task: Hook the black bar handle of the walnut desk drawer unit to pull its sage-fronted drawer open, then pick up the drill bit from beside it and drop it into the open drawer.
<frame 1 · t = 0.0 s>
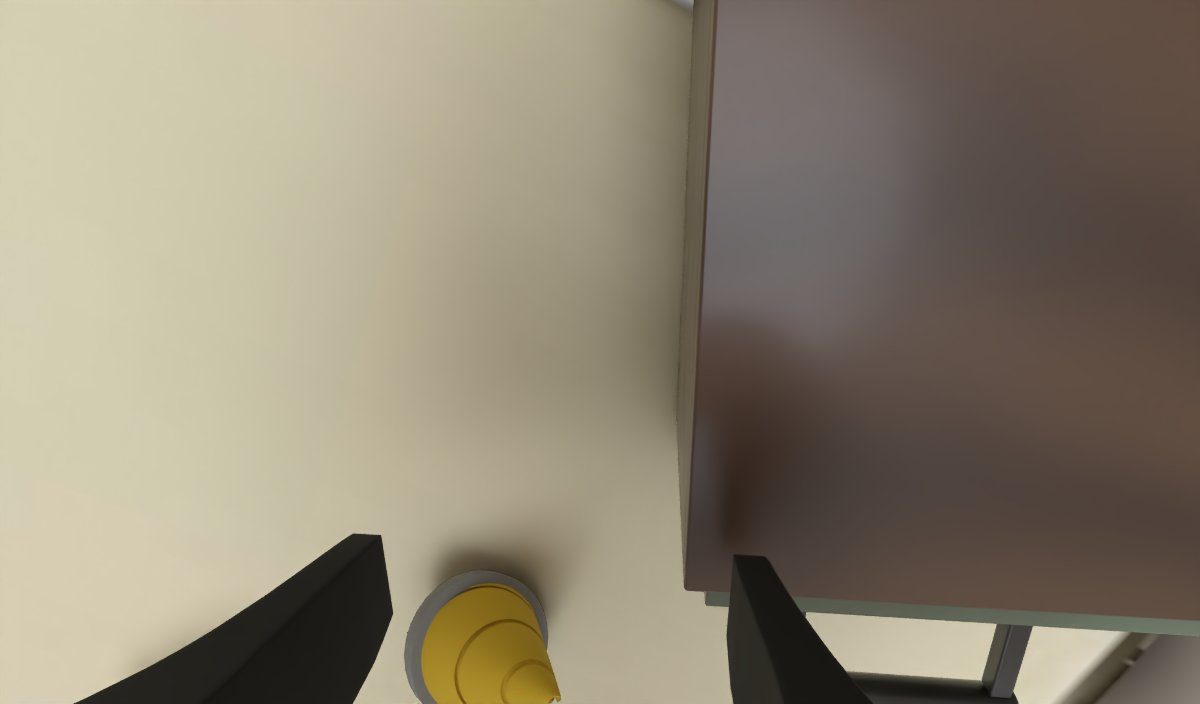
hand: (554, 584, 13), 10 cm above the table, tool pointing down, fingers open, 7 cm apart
cabinet: (895, 196, 19), on the table
drawer: (923, 394, 17), point 4 cm above the table, slide at 0.0 cm
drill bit: (504, 580, 26), on the table
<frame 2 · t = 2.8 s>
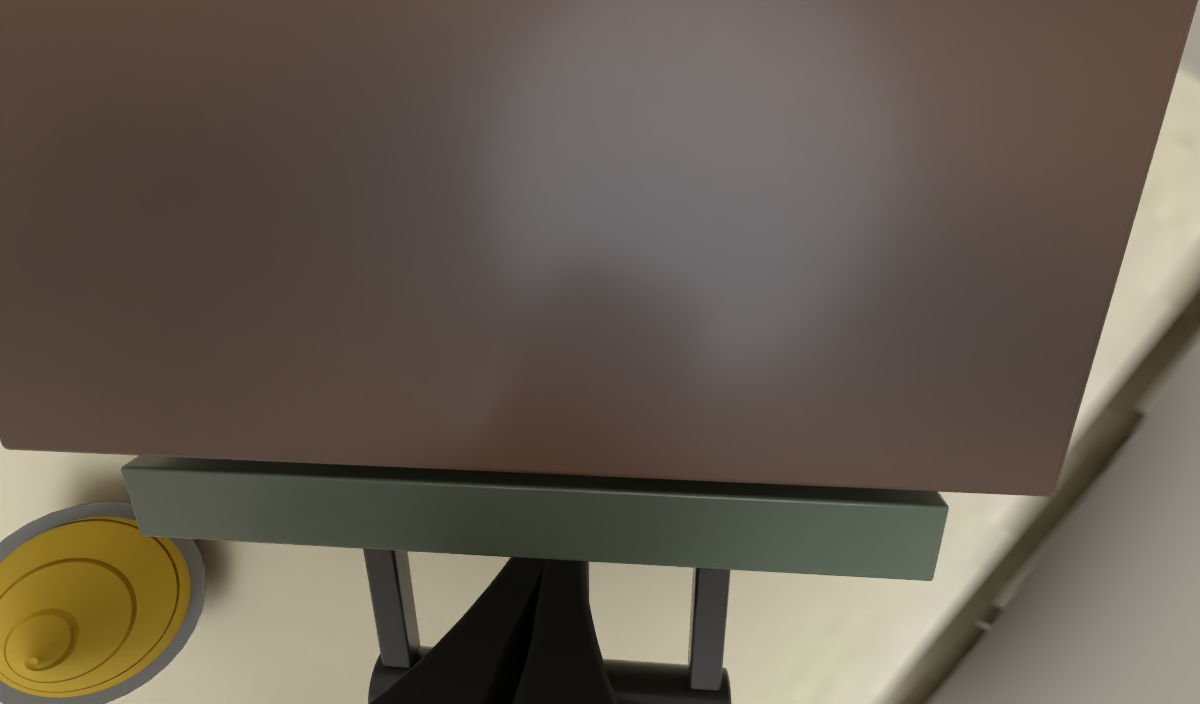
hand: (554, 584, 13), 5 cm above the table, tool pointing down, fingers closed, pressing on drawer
drawer: (545, 209, 11), point 4 cm above the table, slide at 0.7 cm, touching gripper
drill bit: (164, 519, 20), on the table
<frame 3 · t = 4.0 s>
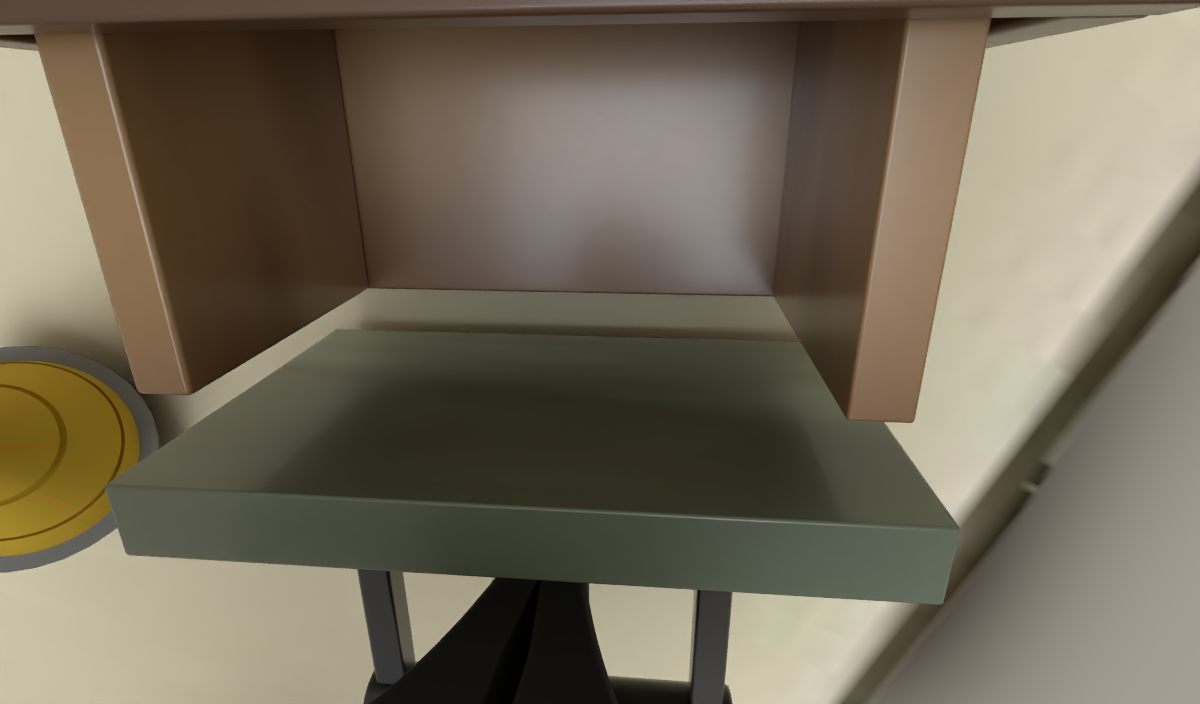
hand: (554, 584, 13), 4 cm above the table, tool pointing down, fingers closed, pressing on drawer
drawer: (542, 217, 10), point 4 cm above the table, slide at 5.6 cm, touching gripper
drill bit: (114, 381, 18), on the table
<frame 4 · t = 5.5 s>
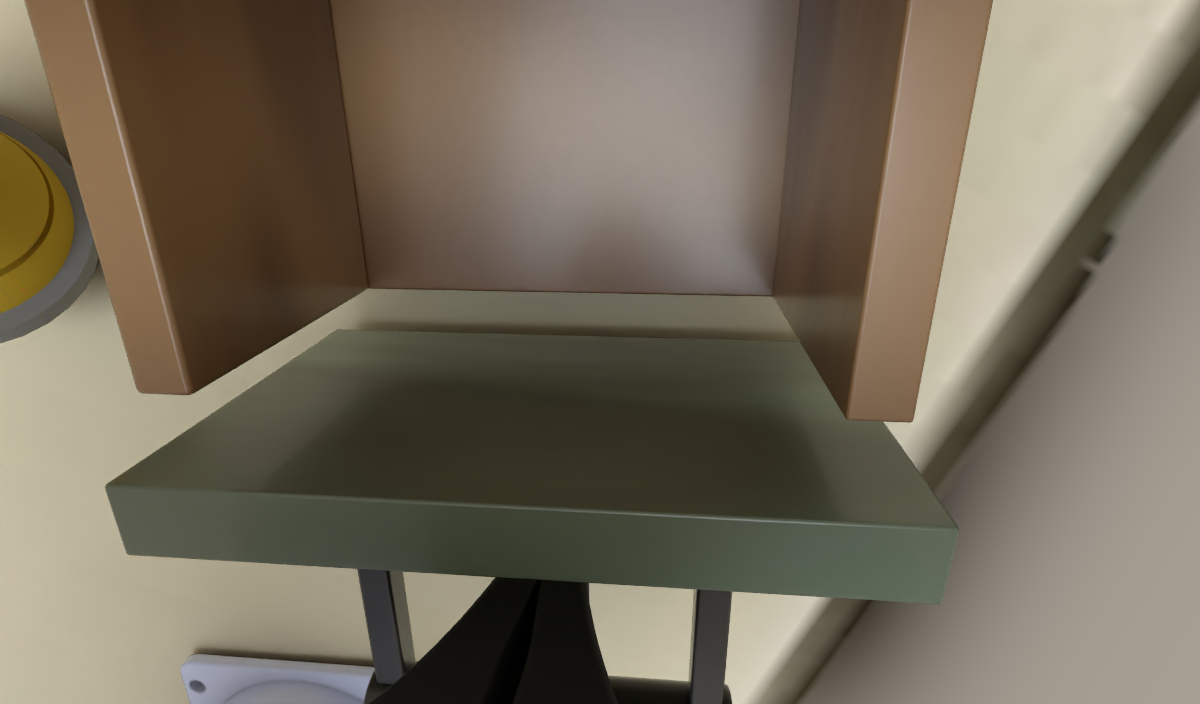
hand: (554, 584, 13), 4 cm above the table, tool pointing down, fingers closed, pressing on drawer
drawer: (542, 217, 10), point 4 cm above the table, slide at 11.3 cm, touching gripper
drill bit: (50, 169, 16), on the table
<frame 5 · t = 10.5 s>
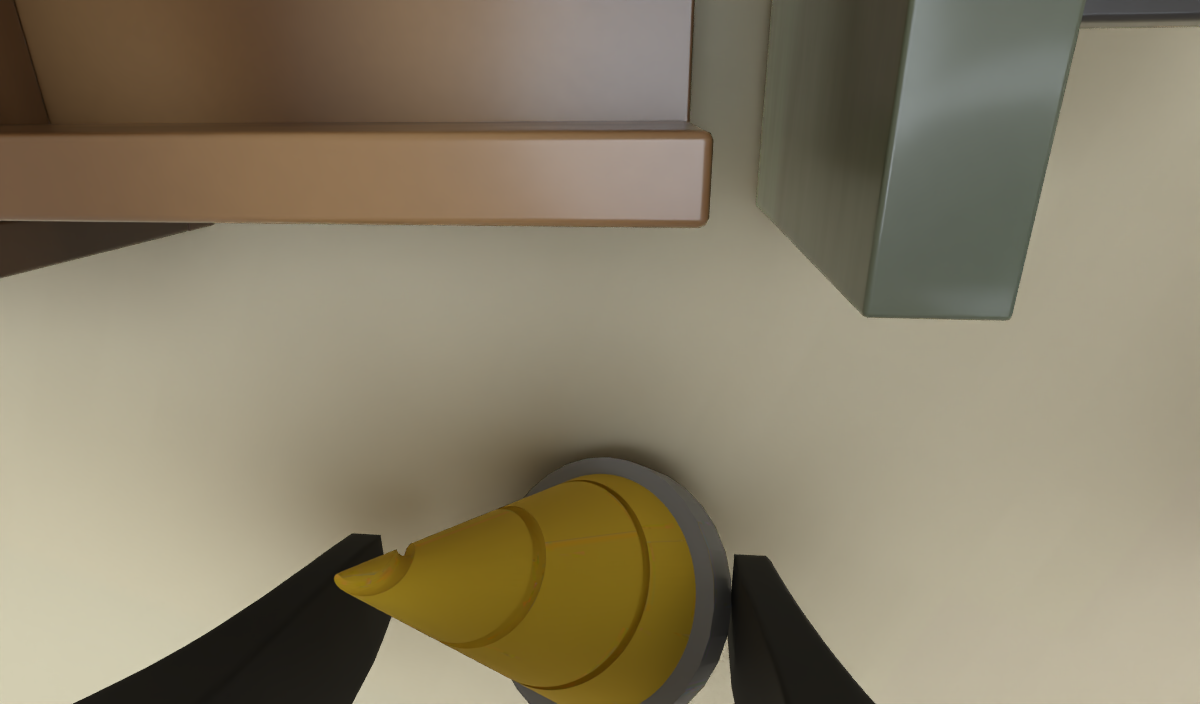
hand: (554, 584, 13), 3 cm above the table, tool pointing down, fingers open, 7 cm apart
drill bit: (573, 499, 16), on the table, touching gripper
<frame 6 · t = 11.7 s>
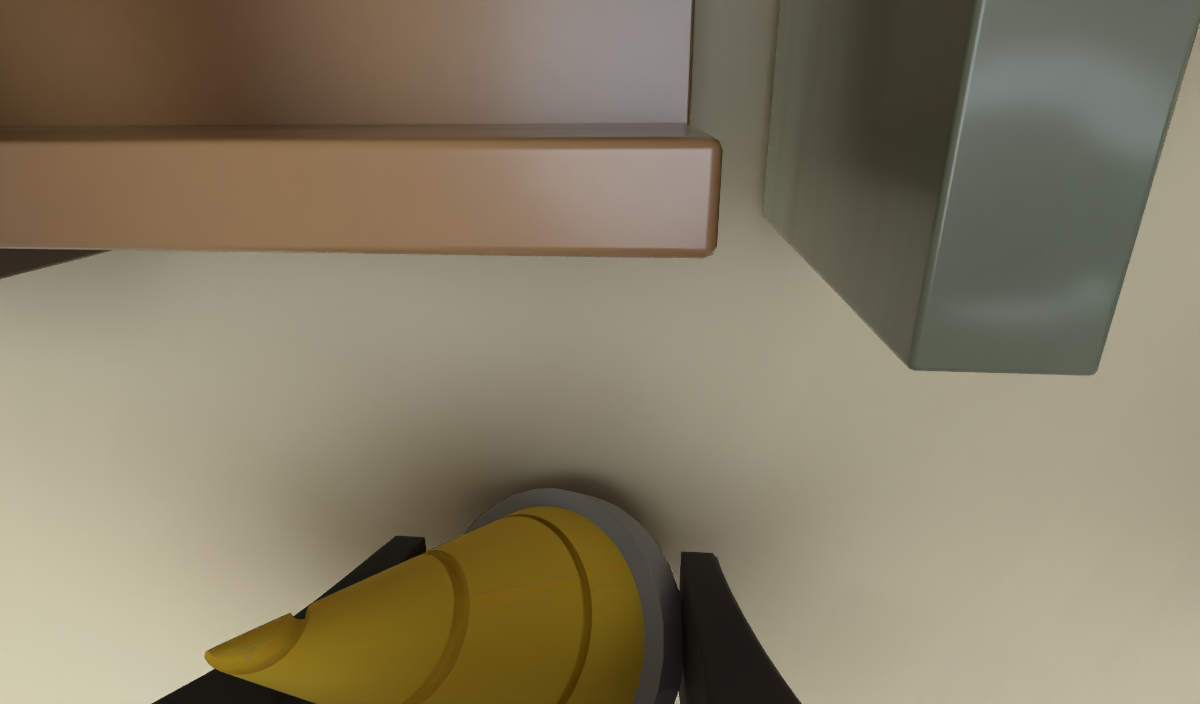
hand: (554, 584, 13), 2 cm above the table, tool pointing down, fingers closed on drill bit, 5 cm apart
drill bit: (523, 529, 15), on the table, touching gripper
when the fingers open (4 cm above the table, at t = 16.1 s): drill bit stays where it is, resting on drawer.
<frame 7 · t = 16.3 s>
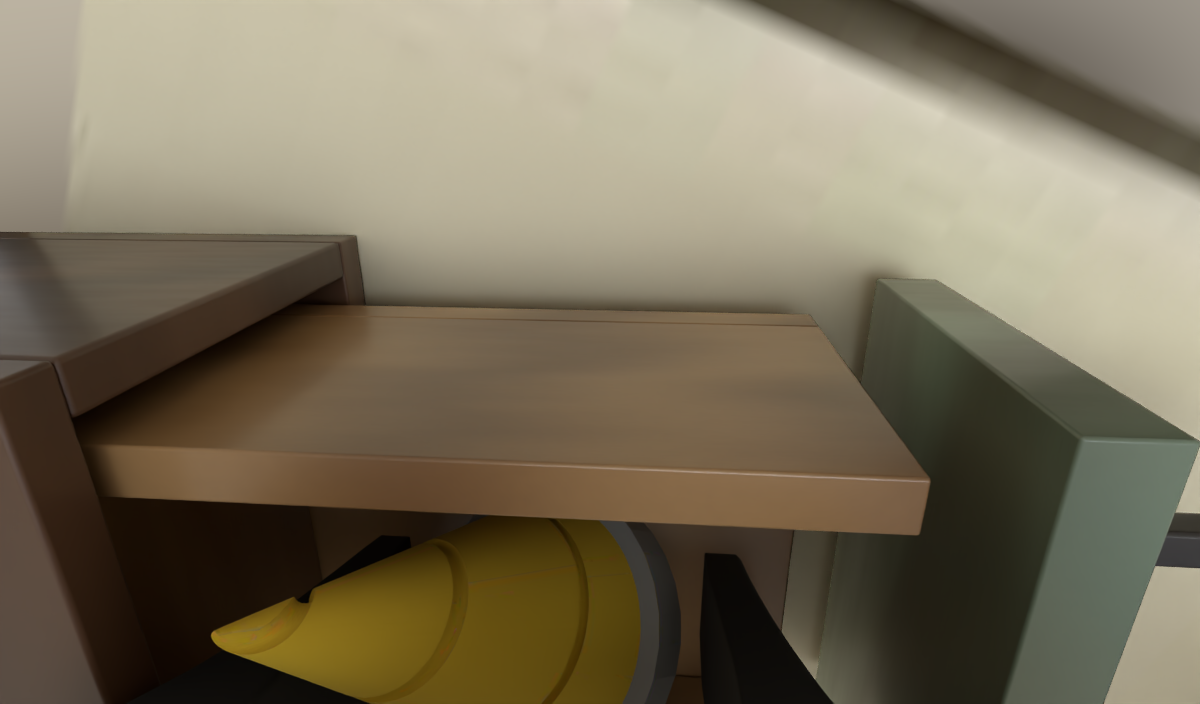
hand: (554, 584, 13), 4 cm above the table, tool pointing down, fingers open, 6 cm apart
cabinet: (116, 460, 17), on the table
drawer: (715, 610, 12), point 4 cm above the table, slide at 11.4 cm, touching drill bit
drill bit: (524, 522, 15), point 2 cm above the table, touching drawer
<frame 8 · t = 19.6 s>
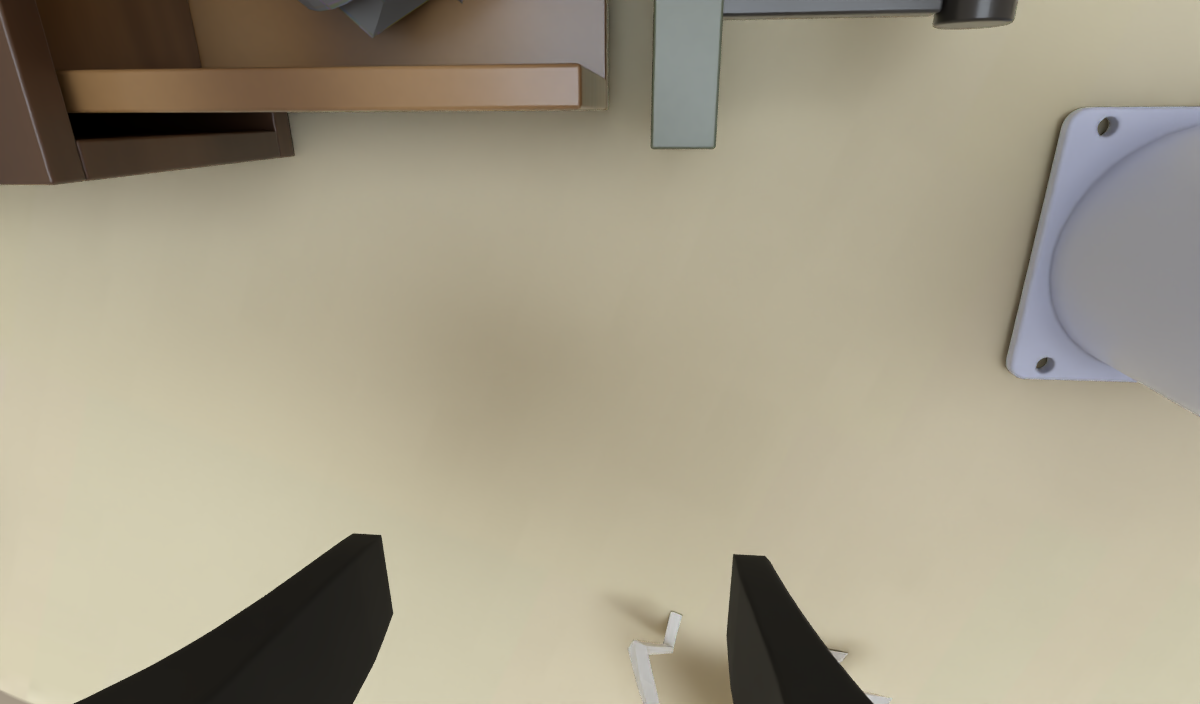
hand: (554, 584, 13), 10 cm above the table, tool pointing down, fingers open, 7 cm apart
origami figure: (746, 676, 26), on the table
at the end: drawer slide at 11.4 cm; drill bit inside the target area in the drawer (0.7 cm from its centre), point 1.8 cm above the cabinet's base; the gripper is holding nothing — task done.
